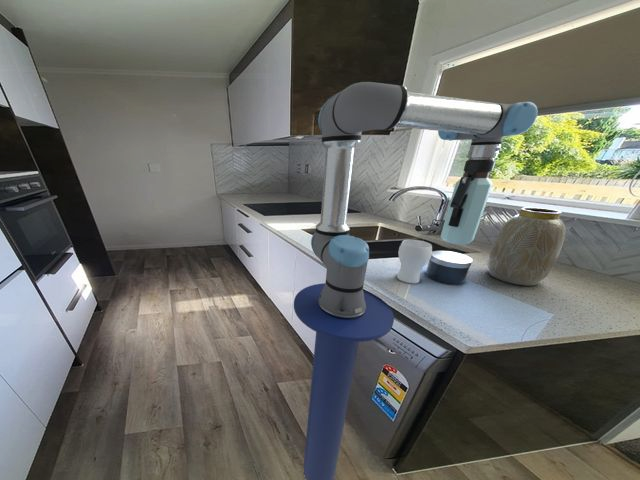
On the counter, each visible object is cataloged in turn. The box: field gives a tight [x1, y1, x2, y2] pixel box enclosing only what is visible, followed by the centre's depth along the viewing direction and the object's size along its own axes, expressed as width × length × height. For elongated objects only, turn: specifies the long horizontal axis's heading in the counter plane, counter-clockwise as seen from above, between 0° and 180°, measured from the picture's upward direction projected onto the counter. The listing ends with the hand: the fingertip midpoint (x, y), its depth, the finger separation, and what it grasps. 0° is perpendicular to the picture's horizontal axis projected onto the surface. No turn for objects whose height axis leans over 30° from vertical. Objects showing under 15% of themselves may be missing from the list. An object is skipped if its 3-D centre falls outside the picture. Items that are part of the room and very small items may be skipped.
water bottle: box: [440, 171, 494, 246], centre depth 87 cm, size 10×10×25 cm
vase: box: [486, 207, 567, 287], centre depth 91 cm, size 17×17×27 cm
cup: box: [396, 239, 433, 284], centre depth 94 cm, size 11×11×15 cm
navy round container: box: [425, 250, 473, 286], centre depth 96 cm, size 13×13×9 cm
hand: (460, 224), depth 89 cm, fingers closed on water bottle, 10 cm apart
